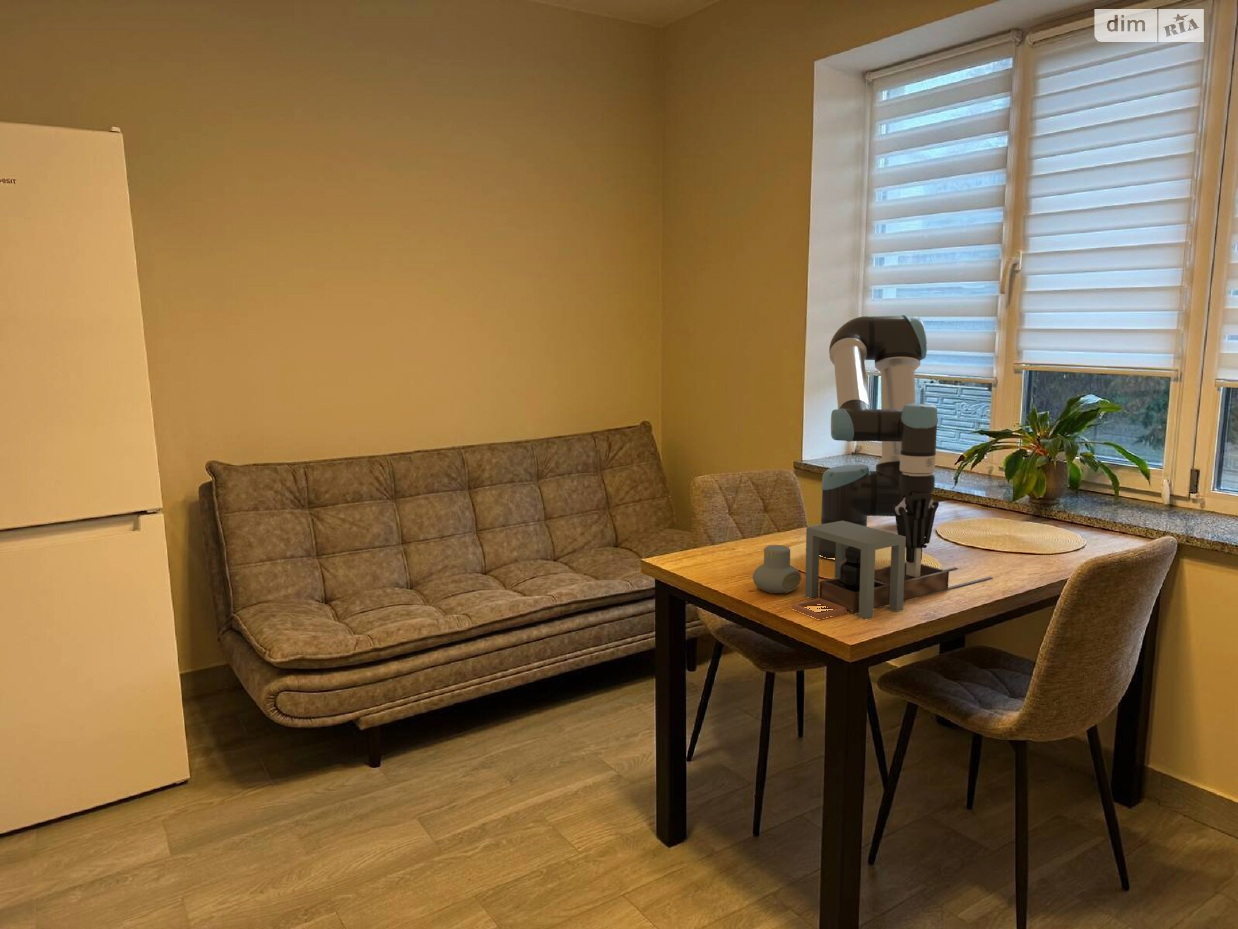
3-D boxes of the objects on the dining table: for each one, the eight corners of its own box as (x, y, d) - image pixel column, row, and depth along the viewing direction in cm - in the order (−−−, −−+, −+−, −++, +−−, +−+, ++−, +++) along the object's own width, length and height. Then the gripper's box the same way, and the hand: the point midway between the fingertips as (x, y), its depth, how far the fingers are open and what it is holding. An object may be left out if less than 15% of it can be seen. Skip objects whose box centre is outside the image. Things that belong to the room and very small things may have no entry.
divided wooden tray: (910, 577, 206) (911, 560, 205) (948, 588, 197) (948, 571, 196) (819, 598, 191) (819, 581, 190) (855, 612, 182) (855, 593, 181)
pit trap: (791, 609, 185) (791, 604, 185) (819, 603, 189) (819, 597, 189) (818, 620, 179) (818, 615, 178) (846, 613, 183) (846, 607, 182)
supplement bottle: (869, 609, 185) (871, 554, 183) (837, 606, 187) (838, 552, 185) (871, 599, 191) (873, 546, 189) (839, 596, 194) (841, 544, 192)
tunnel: (942, 564, 217) (945, 502, 215) (1006, 582, 202) (1010, 515, 199) (805, 596, 194) (806, 527, 191) (866, 619, 179) (868, 544, 176)
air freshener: (776, 581, 206) (777, 540, 204) (805, 589, 200) (806, 546, 198) (747, 591, 198) (747, 549, 197) (776, 599, 192) (777, 556, 191)
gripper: (910, 478, 188) (906, 583, 191) (950, 472, 194) (945, 574, 198) (883, 473, 194) (880, 576, 198) (923, 468, 201) (919, 567, 204)
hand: (913, 575), depth 198 cm, fingers closed
